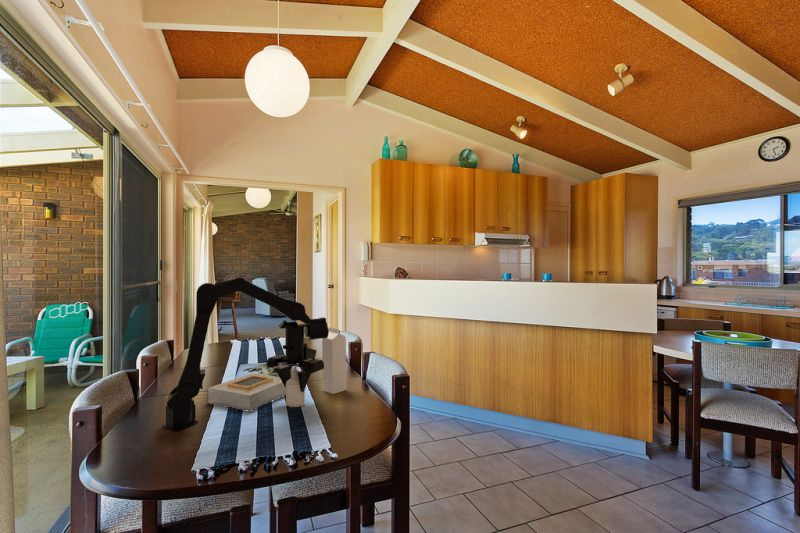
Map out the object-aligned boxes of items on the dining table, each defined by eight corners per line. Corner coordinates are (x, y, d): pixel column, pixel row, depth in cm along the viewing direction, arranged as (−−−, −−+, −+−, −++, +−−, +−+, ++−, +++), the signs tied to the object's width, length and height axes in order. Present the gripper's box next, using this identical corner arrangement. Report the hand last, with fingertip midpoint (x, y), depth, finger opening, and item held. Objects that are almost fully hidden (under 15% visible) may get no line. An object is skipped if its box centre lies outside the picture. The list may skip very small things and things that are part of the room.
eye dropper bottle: (297, 409, 115) (296, 370, 115) (283, 406, 118) (283, 367, 118) (306, 404, 119) (306, 366, 119) (293, 401, 122) (293, 364, 122)
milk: (332, 394, 128) (332, 330, 128) (322, 390, 132) (321, 328, 132) (346, 390, 133) (346, 328, 133) (336, 386, 137) (335, 326, 137)
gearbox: (249, 412, 113) (249, 392, 113) (208, 403, 121) (208, 385, 121) (300, 389, 134) (299, 373, 134) (262, 383, 142) (262, 367, 142)
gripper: (334, 338, 122) (334, 387, 122) (289, 335, 130) (289, 380, 130) (312, 345, 112) (312, 397, 112) (265, 340, 120) (265, 389, 120)
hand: (295, 390), depth 118 cm, fingers closed on eye dropper bottle, 6 cm apart
